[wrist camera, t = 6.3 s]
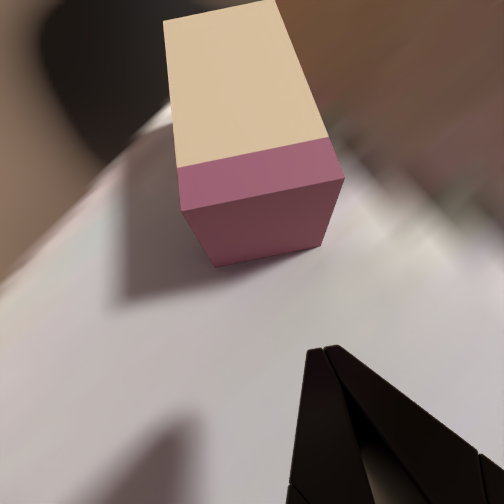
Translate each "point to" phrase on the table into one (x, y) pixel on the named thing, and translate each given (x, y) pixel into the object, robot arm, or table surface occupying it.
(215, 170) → the marked block
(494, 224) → the table surface
